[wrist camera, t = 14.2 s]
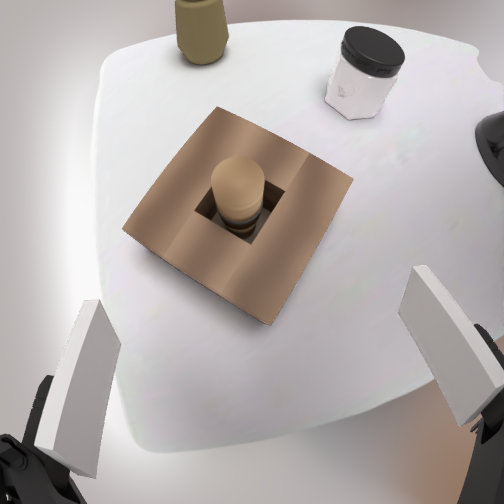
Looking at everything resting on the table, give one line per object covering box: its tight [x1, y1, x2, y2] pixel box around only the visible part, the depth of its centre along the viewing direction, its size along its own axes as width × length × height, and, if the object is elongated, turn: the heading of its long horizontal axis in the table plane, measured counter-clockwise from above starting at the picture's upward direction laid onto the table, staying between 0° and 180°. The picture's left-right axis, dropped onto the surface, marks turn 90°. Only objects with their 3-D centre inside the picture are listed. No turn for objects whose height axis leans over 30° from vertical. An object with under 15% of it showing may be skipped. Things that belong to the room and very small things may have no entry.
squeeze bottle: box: [175, 0, 229, 64], centre depth 32 cm, size 8×8×18 cm
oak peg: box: [211, 156, 265, 239], centre depth 28 cm, size 4×4×12 cm
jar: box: [325, 26, 405, 120], centre depth 34 cm, size 9×8×12 cm
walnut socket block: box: [122, 107, 353, 326], centre depth 31 cm, size 16×16×8 cm
